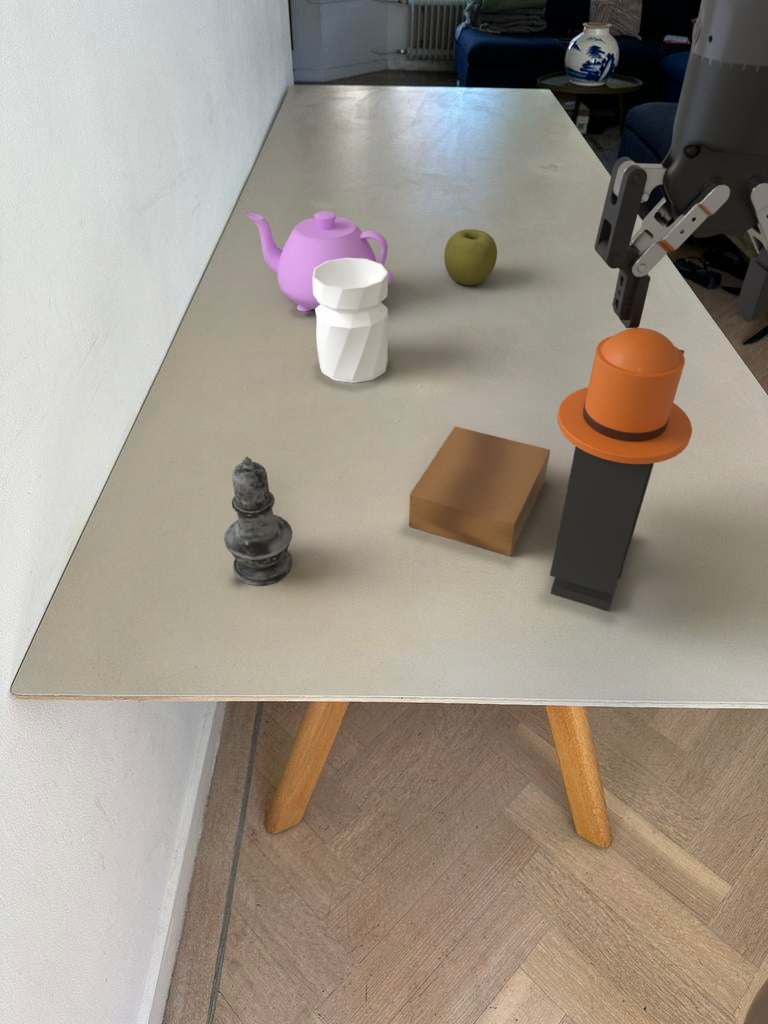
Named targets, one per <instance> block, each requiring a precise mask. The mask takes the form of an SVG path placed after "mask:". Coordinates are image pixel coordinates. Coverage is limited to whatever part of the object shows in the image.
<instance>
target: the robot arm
mask: <svg viewBox="0 0 768 1024" xmlns="http://www.w3.org/2000/svg"><path fill="white" fill-rule="evenodd" d="M691 40H692V42H691V47H690V49H689V54H688V60H687V64H686V67H685V73H684V76H683V77H684V78H683V82H682V87H681V90H680V94H679V100H678V104H677V109H676V113H675V118H674V122H673V127H672V139H671V144H670V148H669V150H668V152H667V154H666V156H665V157H664V159H663V160H662V161H661V163H641V162H640V163H639V162H635V161H634V160H633V159H631V158H630V157H628V156H622V157H619V158H618V159H617V160H616V161H615V162H614V164H613V167H612V170H611V175H610V179H609V184H608V186H607V187H608V188H607V192H606V196H605V200H604V204H603V209H602V213H601V216H600V221H599V225H598V228H597V234H596V238H595V242H594V251H595V252H596V253H597V254H598V256H599V257H600V258H601V259H602V260H603V262H604V263H605V264H606V265H607V266H608V268H610V269H614V270H615V269H619V270H618V274H617V275H618V276H617V280H616V285H615V289H614V290H615V291H614V294H613V301H612V309H613V310H612V311H613V312H614V313H615V315H616V316H617V318H618V319H619V321H620V322H621V324H622V325H623V326H624V327H625V329H632V328H640V325H641V321H642V317H643V312H644V309H645V303H646V300H647V295H648V291H649V287H650V282H651V278H652V277H651V276H650V275H649V273H650V272H651V271H652V270H653V269H654V268H655V267H656V265H657V264H658V263H659V262H660V261H661V260H662V259H663V258H664V257H665V256H666V255H667V254H668V253H673V252H675V251H677V250H678V249H679V248H680V247H681V246H682V245H683V244H684V243H685V242H686V241H687V239H688V238H689V237H690V236H693V237H694V238H695V239H701V238H710V237H713V236H717V235H725V236H729V237H744V235H745V232H746V233H748V235H749V237H750V240H751V241H752V244H753V247H754V248H755V251H756V253H757V254H758V255H757V258H756V257H755V258H750V261H749V264H748V267H747V270H746V273H745V276H744V278H743V279H744V280H743V283H742V286H741V289H740V292H739V295H738V297H737V302H736V306H735V310H736V313H737V314H738V315H739V316H740V317H741V318H742V319H743V320H744V321H745V322H747V323H753V322H754V323H755V322H759V321H761V320H762V317H763V314H766V313H767V312H768V0H701V1H700V6H699V10H698V16H697V19H696V21H695V23H694V25H693V29H692V35H691ZM657 187H658V188H659V190H660V191H661V194H662V196H663V197H662V198H661V199H660V201H658V203H657V204H656V205H655V206H654V207H653V208H652V209H651V211H650V212H648V214H646V215H645V217H644V218H643V220H642V222H641V227H640V228H639V229H638V230H637V231H636V233H635V234H634V235H633V233H634V229H635V225H636V222H637V219H638V214H639V211H640V207H641V204H643V203H645V202H648V200H649V198H650V196H651V193H652V191H653V190H654V189H655V188H657ZM672 218H673V219H674V221H673V223H671V224H670V225H668V224H669V222H670V220H672ZM667 225H668V226H667ZM743 1024H768V977H767V978H766V980H765V981H764V982H763V984H762V985H761V987H760V988H759V990H758V991H757V992H756V994H755V996H754V998H753V999H752V1001H751V1003H750V1005H749V1008H748V1010H747V1012H746V1015H745V1018H744V1021H743Z"/></svg>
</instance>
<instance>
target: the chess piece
mask: <svg viewBox="0 0 768 1024" xmlns="http://www.w3.org/2000/svg"><path fill="white" fill-rule="evenodd" d="M231 480H232V481H231V482H232V486H233V490H234V491H233V492H234V496H233V498H232V500H231V507H232V509H233V510H234V512H236V516H237V519H236V520H235V521H233V522H232V523H231V524H230V526H228V527H227V529H226V531H225V533H224V537H223V541H224V546H225V547H226V549H227V550H228V552H229V553H230V554H231V555H232V556H233V558H234V560H233V563H232V569H233V574H234V575H235V577H236V578H237V579H238V581H240V582H242V583H244V584H247V585H250V586H254V587H255V586H256V587H259V586H260V587H262V586H268V585H272V584H275V583H277V582H280V581H281V580H283V579H284V578H285V577H286V576H287V575H288V574H289V573H290V571H291V570H292V567H293V559H292V555H291V553H290V552H289V551H288V549H289V547H290V543H291V542H292V539H293V529H292V526H291V525H290V523H289V522H288V521H287V520H286V519H284V518H283V517H281V516H279V515H277V514H274V510H273V508H274V507H275V503H276V499H275V495H274V494H273V493H272V492H271V491H270V487H269V480H268V472H267V471H266V468H265V467H264V466H263V464H261V463H259V462H256V461H252V459H251V458H250V457H248V456H245V458H244V459H243V460H242V462H241V463H239V464H237V465H236V466H235V467H234V469H232V474H231Z"/></svg>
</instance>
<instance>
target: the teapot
mask: <svg viewBox="0 0 768 1024" xmlns="http://www.w3.org/2000/svg"><path fill="white" fill-rule="evenodd" d="M245 215H246V216H247V217H248V218H249V219H250V220H251V221H252V222H254V224H255V225H256V227H257V229H258V231H259V237H260V242H261V243H260V244H261V251H262V255H263V259H264V261H265V263H266V265H267V267H268V268H269V269H270V270H271V271H272V272H273V273H275V274H276V275H277V284H278V286H279V288H280V290H281V292H282V293H283V294H284V295H285V296H286V297H287V298H288V299H290V300H291V302H293V303H294V304H296V305H297V306H296V309H297V310H298V311H299V312H310V311H312V310H315V309H316V308H317V307H318V306H319V305H320V303H319V302H318V301H317V299H316V298H315V296H314V295H313V280H312V277H313V271H314V268H315V267H317V266H319V265H321V264H322V263H324V262H326V261H330V260H335V259H341V258H363V259H368V260H371V261H374V262H377V263H380V264H382V265H383V266H384V267H385V263H386V261H387V257H388V249H389V247H388V242H387V239H386V238H385V236H384V235H382V234H381V233H379V232H377V231H375V230H364V231H362V230H361V229H360V228H359V227H358V225H357V224H356V223H355V222H353V221H352V220H350V219H348V218H344V217H339V216H337V214H336V213H335V212H333V211H330V210H320V211H318V212H315V213H314V215H313V216H314V217H311V218H307V219H304V220H302V221H300V222H299V223H297V224H296V225H295V226H294V228H293V229H292V231H291V232H290V234H289V237H288V238H287V240H286V242H285V244H284V247H283V249H281V248H280V247H279V246H277V244H276V243H275V240H274V237H273V233H272V229H271V226H270V223H269V222H268V221H267V220H266V218H264V217H263V216H262V215H260V214H256V213H253V212H247V211H246V212H245ZM368 239H369V240H374V241H376V242H377V243H378V244H379V246H380V253H379V259H378V261H377V258H376V256H375V253H374V251H373V248H372V246H371V245H370V242H369V241H368ZM385 269H386V268H385ZM386 270H387V272H388V286H389V285H391V284H392V283H393V279H394V278H393V277H394V276H393V273H392V272H391V271H390V270H389V269H386Z"/></svg>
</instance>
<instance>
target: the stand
mask: <svg viewBox="0 0 768 1024" xmlns="http://www.w3.org/2000/svg"><path fill="white" fill-rule="evenodd" d="M550 454H551V449H549V448H545V447H541V446H537V445H533V444H529V443H525V442H521V441H516V440H512V439H508V438H504V437H500V436H497V435H492V434H488V433H483V432H481V431H480V432H479V431H475V430H472V429H468V428H463V427H459V426H454V427H453V428H452V430H451V432H450V433H449V435H448V436H447V437H446V439H445V441H444V442H443V443H442V444H441V447H440V448H439V450H438V451H437V453H435V455H434V457H433V458H432V460H431V461H430V462H429V464H428V466H427V468H426V469H425V470H424V472H423V473H422V474H421V477H420V478H419V480H418V481H417V482H416V484H415V485H414V487H413V489H412V490H411V492H410V493H409V511H408V514H409V515H408V527H409V528H413V529H416V530H419V531H423V532H426V533H429V534H433V535H437V536H440V537H443V538H447V539H450V540H453V541H457V542H460V543H464V544H466V545H471V546H474V547H477V548H481V549H483V550H487V551H491V552H494V553H498V554H501V555H504V556H508V557H511V555H512V553H513V552H514V549H515V547H516V545H517V543H518V540H519V538H520V536H521V534H522V532H523V530H524V527H525V526H526V524H527V521H528V519H529V516H530V514H531V512H532V510H533V508H534V506H535V504H536V501H537V500H538V497H539V495H540V494H541V491H542V488H543V486H544V485H545V482H546V478H547V472H548V466H549V460H550Z"/></svg>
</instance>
